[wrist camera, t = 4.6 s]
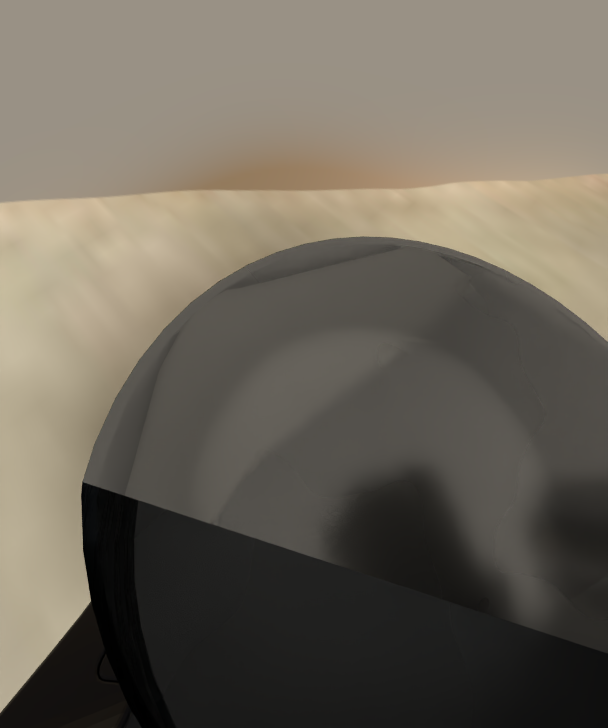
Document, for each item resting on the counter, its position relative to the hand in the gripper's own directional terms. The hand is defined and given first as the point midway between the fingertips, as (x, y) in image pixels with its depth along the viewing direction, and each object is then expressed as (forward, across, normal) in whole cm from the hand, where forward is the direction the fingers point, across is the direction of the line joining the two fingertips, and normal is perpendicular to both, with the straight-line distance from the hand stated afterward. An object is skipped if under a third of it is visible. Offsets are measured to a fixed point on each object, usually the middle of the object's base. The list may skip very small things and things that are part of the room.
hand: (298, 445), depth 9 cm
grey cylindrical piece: (+4, 0, +5) cm, 6 cm away
